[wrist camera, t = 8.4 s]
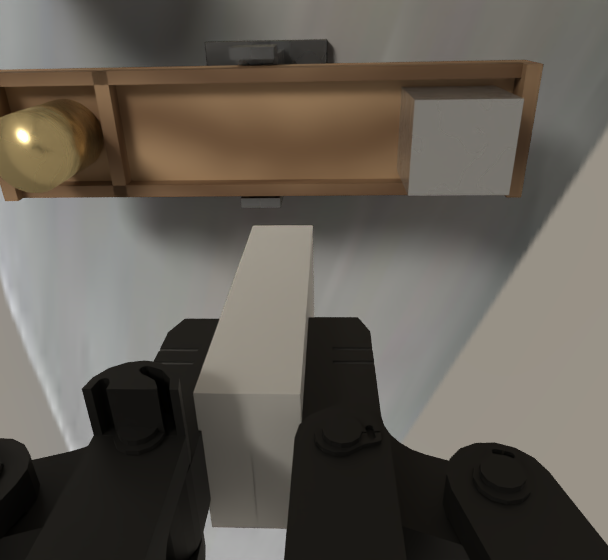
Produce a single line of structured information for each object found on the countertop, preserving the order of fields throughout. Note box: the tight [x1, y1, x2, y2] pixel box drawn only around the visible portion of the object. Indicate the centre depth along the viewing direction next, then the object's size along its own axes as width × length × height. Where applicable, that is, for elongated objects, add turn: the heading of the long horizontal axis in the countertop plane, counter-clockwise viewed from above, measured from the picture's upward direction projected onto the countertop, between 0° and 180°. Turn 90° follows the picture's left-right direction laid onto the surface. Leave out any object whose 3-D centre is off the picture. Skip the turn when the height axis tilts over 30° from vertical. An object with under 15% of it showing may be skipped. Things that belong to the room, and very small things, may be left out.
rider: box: [397, 85, 524, 196], centre depth 28 cm, size 5×5×5 cm
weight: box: [0, 99, 104, 193], centre depth 29 cm, size 4×4×5 cm
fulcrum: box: [205, 39, 327, 208], centre depth 34 cm, size 9×8×8 cm
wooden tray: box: [0, 60, 543, 201], centre depth 30 cm, size 7×30×3 cm, turn 91°
